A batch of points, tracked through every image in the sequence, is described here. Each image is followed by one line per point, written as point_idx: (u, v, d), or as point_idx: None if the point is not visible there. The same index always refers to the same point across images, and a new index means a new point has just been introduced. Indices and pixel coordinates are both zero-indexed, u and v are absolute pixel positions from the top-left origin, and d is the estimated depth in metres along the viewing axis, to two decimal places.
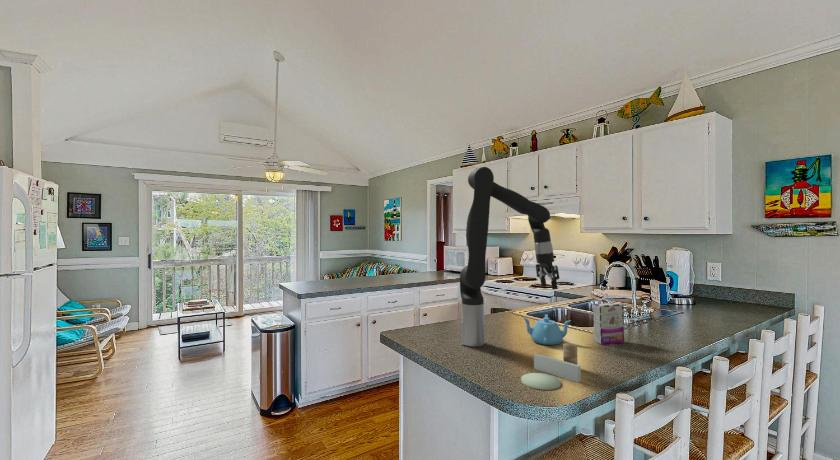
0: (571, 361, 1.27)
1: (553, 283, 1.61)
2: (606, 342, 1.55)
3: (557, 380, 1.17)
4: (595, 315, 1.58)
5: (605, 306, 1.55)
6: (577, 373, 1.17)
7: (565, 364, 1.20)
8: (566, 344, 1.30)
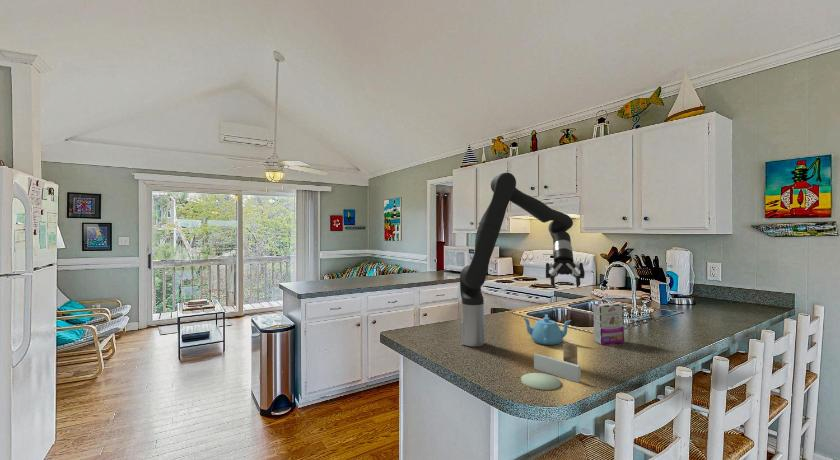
0: (571, 361, 1.27)
1: (579, 279, 1.42)
2: (606, 342, 1.55)
3: (557, 380, 1.17)
4: (595, 315, 1.58)
5: (605, 306, 1.55)
6: (577, 373, 1.17)
7: (565, 364, 1.20)
8: (566, 344, 1.30)
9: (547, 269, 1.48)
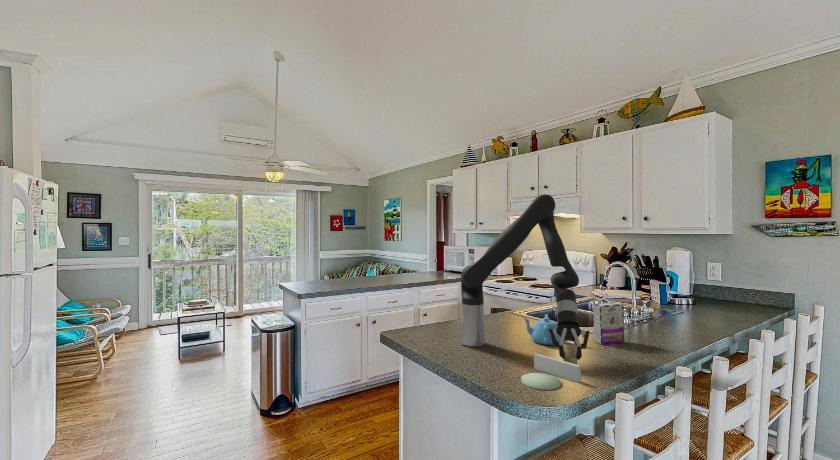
0: (571, 361, 1.27)
1: (580, 350, 1.28)
2: (606, 342, 1.55)
3: (557, 380, 1.17)
4: (595, 315, 1.58)
5: (605, 306, 1.55)
6: (577, 373, 1.17)
7: (565, 364, 1.20)
8: (566, 344, 1.30)
9: (553, 337, 1.33)
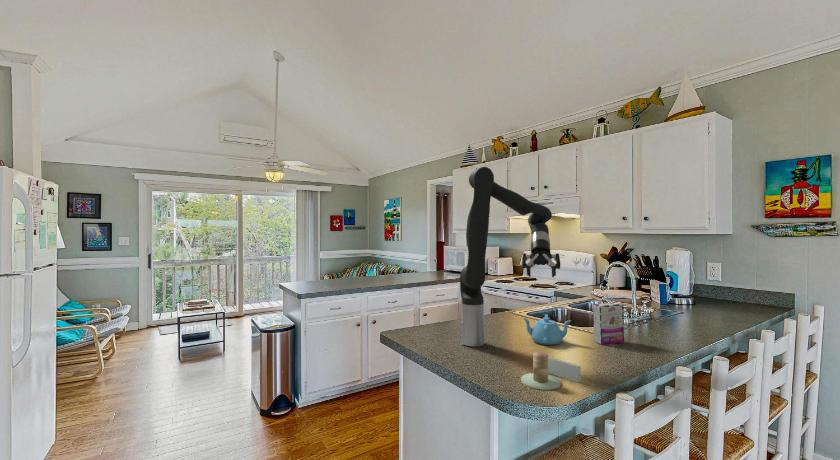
0: (540, 372, 1.16)
1: (554, 269, 1.42)
2: (606, 342, 1.55)
3: (557, 380, 1.17)
4: (595, 315, 1.58)
5: (605, 306, 1.55)
6: (577, 373, 1.17)
7: (565, 364, 1.20)
8: (536, 353, 1.19)
9: (524, 259, 1.48)
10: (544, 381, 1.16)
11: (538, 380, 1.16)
